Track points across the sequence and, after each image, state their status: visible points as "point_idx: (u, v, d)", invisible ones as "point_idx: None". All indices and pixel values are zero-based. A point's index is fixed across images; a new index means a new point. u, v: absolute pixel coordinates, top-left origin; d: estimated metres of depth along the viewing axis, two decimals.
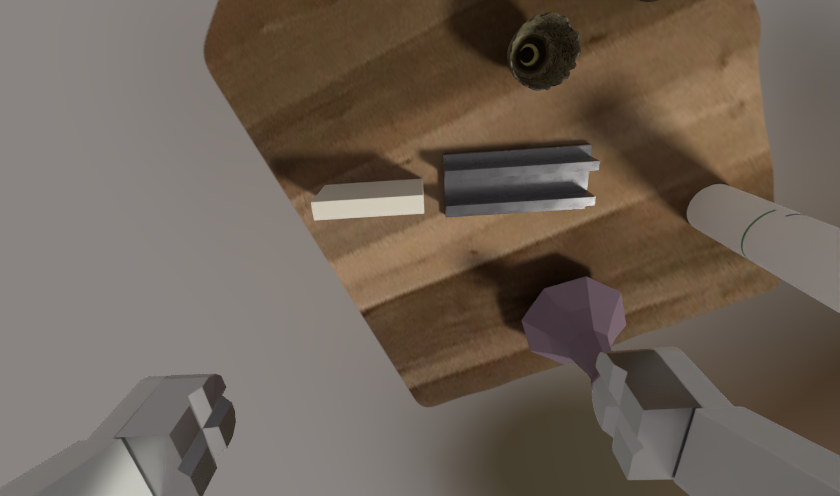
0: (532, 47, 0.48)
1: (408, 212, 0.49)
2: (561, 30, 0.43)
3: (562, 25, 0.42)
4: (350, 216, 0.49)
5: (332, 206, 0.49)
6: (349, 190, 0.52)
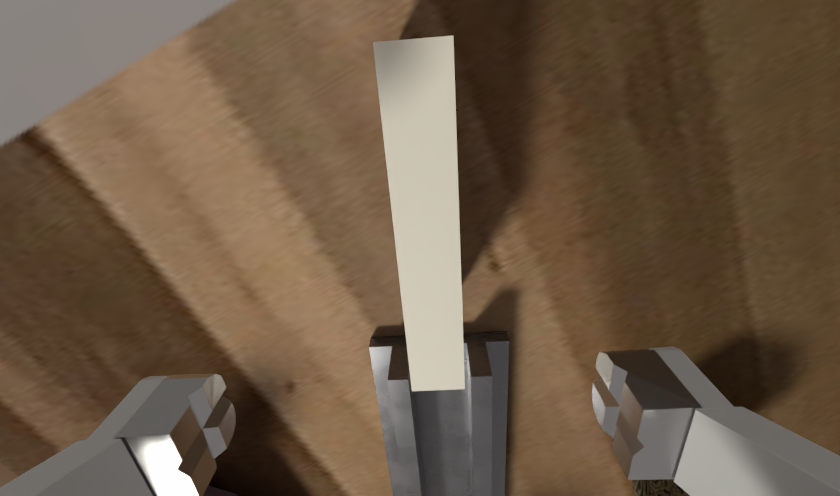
0: None
1: (413, 357, 0.17)
2: None
3: None
4: (395, 192, 0.14)
5: (434, 128, 0.13)
6: None
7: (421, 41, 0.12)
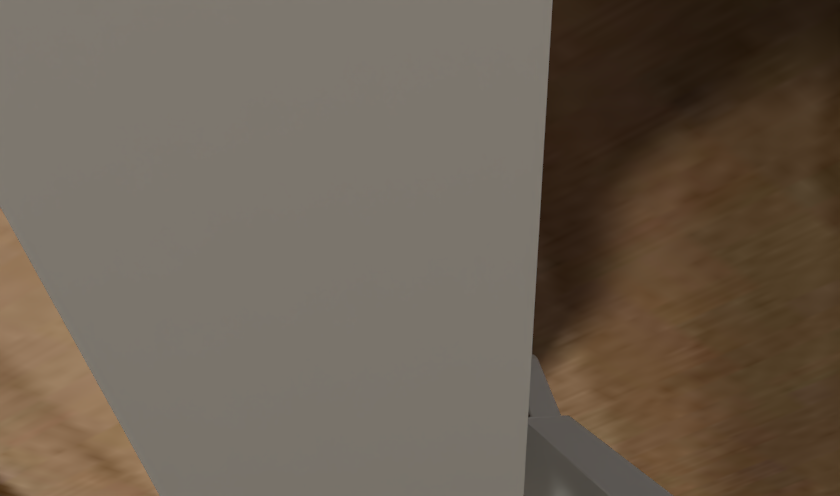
0: None
1: None
2: None
3: None
4: None
5: (405, 419, 0.02)
6: None
7: None
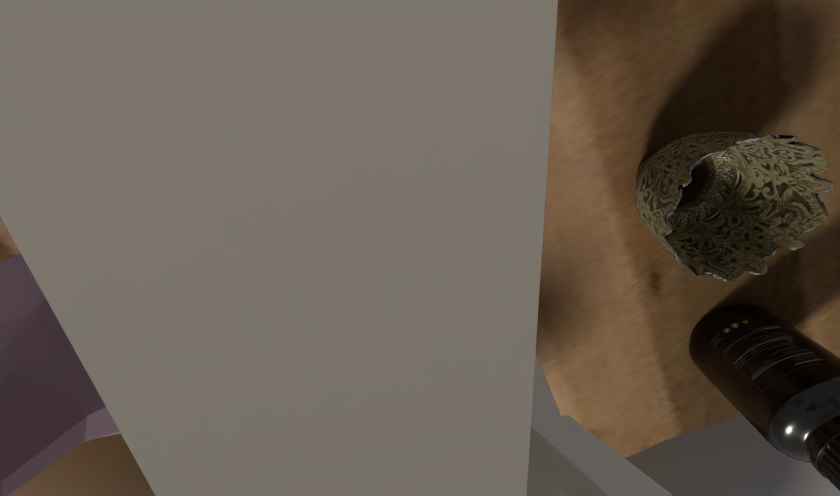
0: None
1: None
2: (740, 234, 0.22)
3: (763, 238, 0.21)
4: None
5: (406, 426, 0.02)
6: None
7: None
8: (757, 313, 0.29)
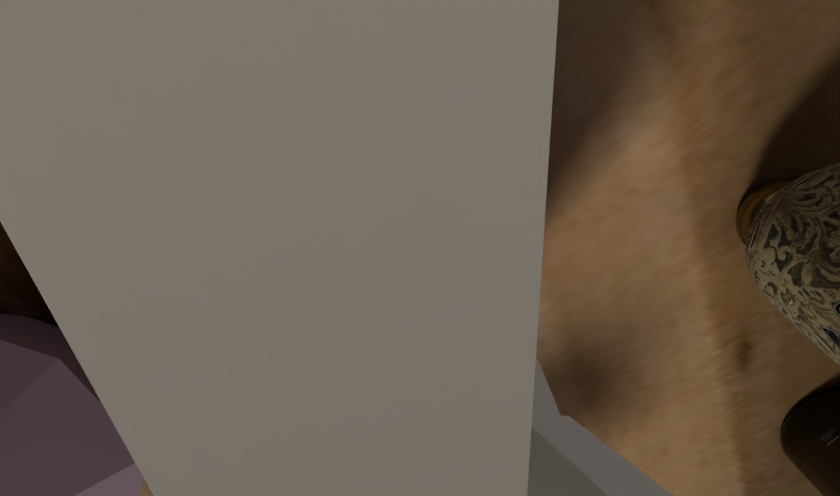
0: None
1: None
2: None
3: None
4: None
5: (406, 430, 0.02)
6: None
7: None
8: None
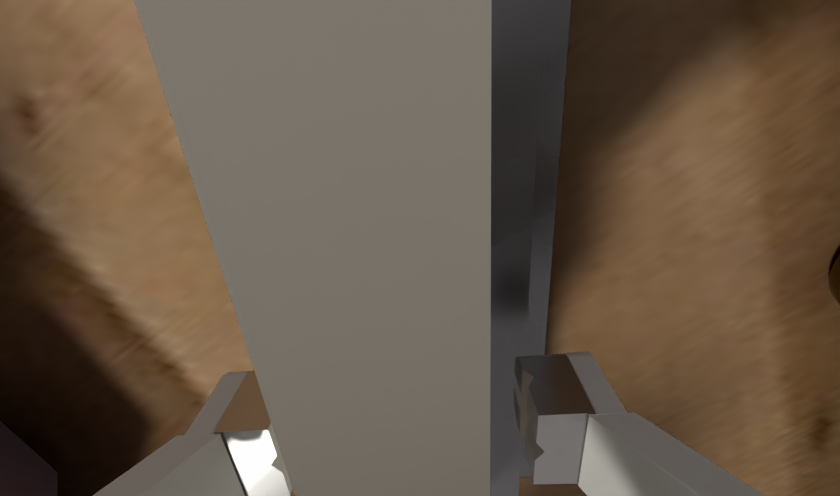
0: None
1: None
2: None
3: None
4: (299, 455, 0.04)
5: (412, 295, 0.04)
6: None
7: None
8: None
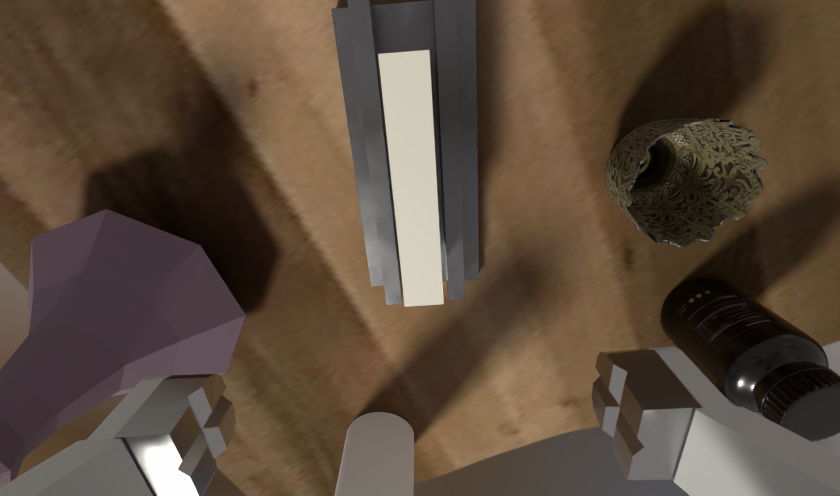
0: (639, 165, 0.29)
1: (406, 278, 0.23)
2: (695, 209, 0.25)
3: (713, 210, 0.24)
4: (392, 154, 0.20)
5: (418, 110, 0.19)
6: None
7: (409, 53, 0.18)
8: (718, 284, 0.32)
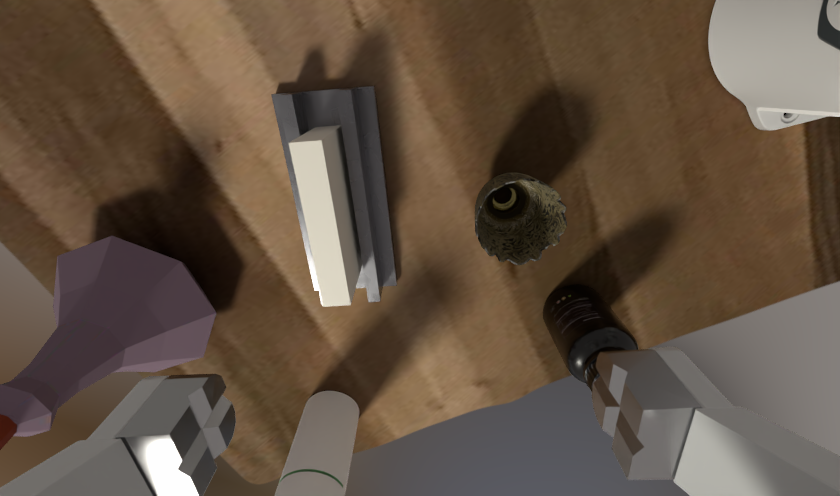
0: (510, 201, 0.39)
1: (322, 287, 0.33)
2: (536, 236, 0.35)
3: (544, 238, 0.34)
4: (304, 204, 0.30)
5: (318, 176, 0.29)
6: (341, 181, 0.34)
7: (308, 142, 0.28)
8: (580, 289, 0.42)
